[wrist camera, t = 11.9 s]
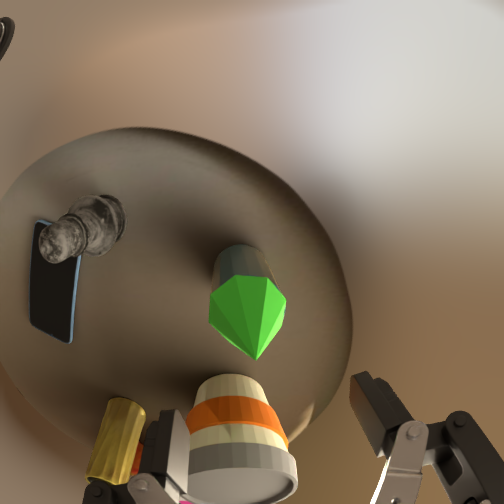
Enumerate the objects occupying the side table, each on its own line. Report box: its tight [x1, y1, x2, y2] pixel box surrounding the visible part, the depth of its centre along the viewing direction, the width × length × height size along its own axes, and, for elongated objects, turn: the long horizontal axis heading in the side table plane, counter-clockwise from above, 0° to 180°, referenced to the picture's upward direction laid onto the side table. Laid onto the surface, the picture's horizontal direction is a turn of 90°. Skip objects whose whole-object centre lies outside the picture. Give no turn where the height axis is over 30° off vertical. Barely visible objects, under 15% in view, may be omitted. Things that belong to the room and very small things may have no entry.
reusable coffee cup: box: [179, 374, 298, 504], centre depth 27 cm, size 13×13×15 cm
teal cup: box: [211, 244, 286, 321], centre depth 25 cm, size 6×6×9 cm
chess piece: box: [39, 195, 127, 263], centre depth 21 cm, size 6×6×12 cm
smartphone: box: [29, 220, 81, 344], centre depth 27 cm, size 7×1×15 cm
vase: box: [85, 397, 146, 486], centre depth 27 cm, size 6×6×14 cm
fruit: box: [130, 442, 144, 475], centre depth 32 cm, size 7×7×8 cm
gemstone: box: [209, 275, 286, 360], centre depth 18 cm, size 6×6×6 cm
